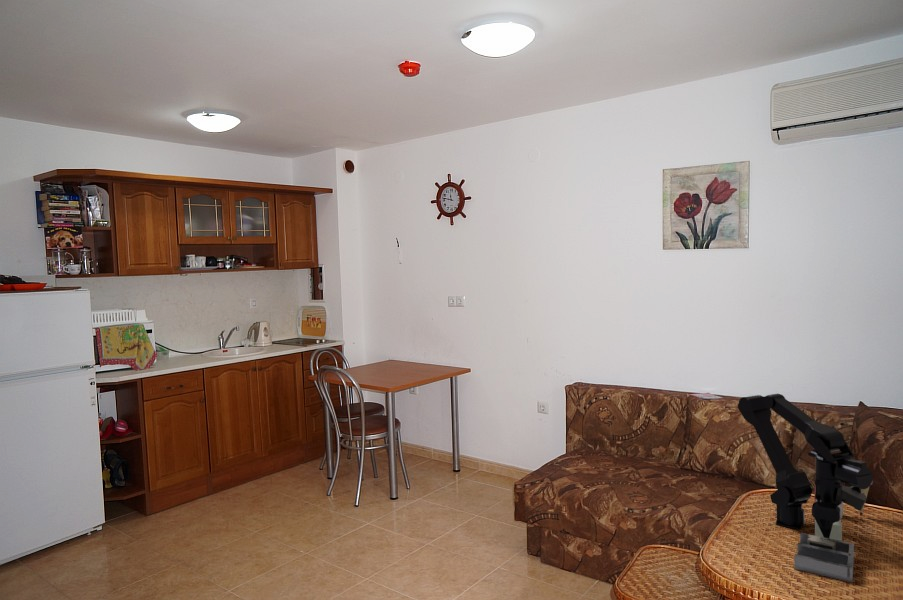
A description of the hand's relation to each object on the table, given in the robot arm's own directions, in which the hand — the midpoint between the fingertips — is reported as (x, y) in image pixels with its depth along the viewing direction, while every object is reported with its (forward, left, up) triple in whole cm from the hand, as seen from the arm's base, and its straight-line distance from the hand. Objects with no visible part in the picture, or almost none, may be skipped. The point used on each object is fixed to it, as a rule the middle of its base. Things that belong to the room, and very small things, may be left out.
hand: (827, 531), depth 159 cm
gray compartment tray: (0, -13, -3) cm, 13 cm away
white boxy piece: (-1, +20, -3) cm, 20 cm away
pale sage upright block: (0, 0, -3) cm, 3 cm away
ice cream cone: (+7, +22, -3) cm, 23 cm away
